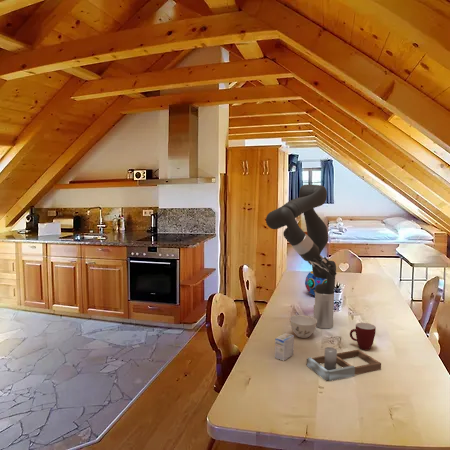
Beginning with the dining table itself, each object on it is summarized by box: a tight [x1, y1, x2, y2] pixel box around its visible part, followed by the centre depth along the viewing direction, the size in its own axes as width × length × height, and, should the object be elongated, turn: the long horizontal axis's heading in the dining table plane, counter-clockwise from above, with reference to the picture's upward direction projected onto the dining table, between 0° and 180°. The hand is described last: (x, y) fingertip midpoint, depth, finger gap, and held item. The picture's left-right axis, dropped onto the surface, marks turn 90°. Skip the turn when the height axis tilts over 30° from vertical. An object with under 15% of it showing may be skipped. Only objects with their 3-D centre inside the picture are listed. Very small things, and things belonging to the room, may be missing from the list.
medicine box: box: [274, 332, 295, 362], centre depth 158 cm, size 8×4×9 cm, turn 141°
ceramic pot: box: [304, 270, 327, 297], centre depth 244 cm, size 18×18×15 cm
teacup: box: [289, 314, 317, 339], centre depth 181 cm, size 15×12×8 cm
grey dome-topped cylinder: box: [323, 347, 338, 370], centre depth 147 cm, size 4×4×8 cm
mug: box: [349, 322, 376, 351], centre depth 167 cm, size 10×8×10 cm
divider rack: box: [305, 349, 382, 382], centre depth 149 cm, size 14×25×4 cm, turn 111°
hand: (328, 272), depth 157 cm, fingers open, 8 cm apart
